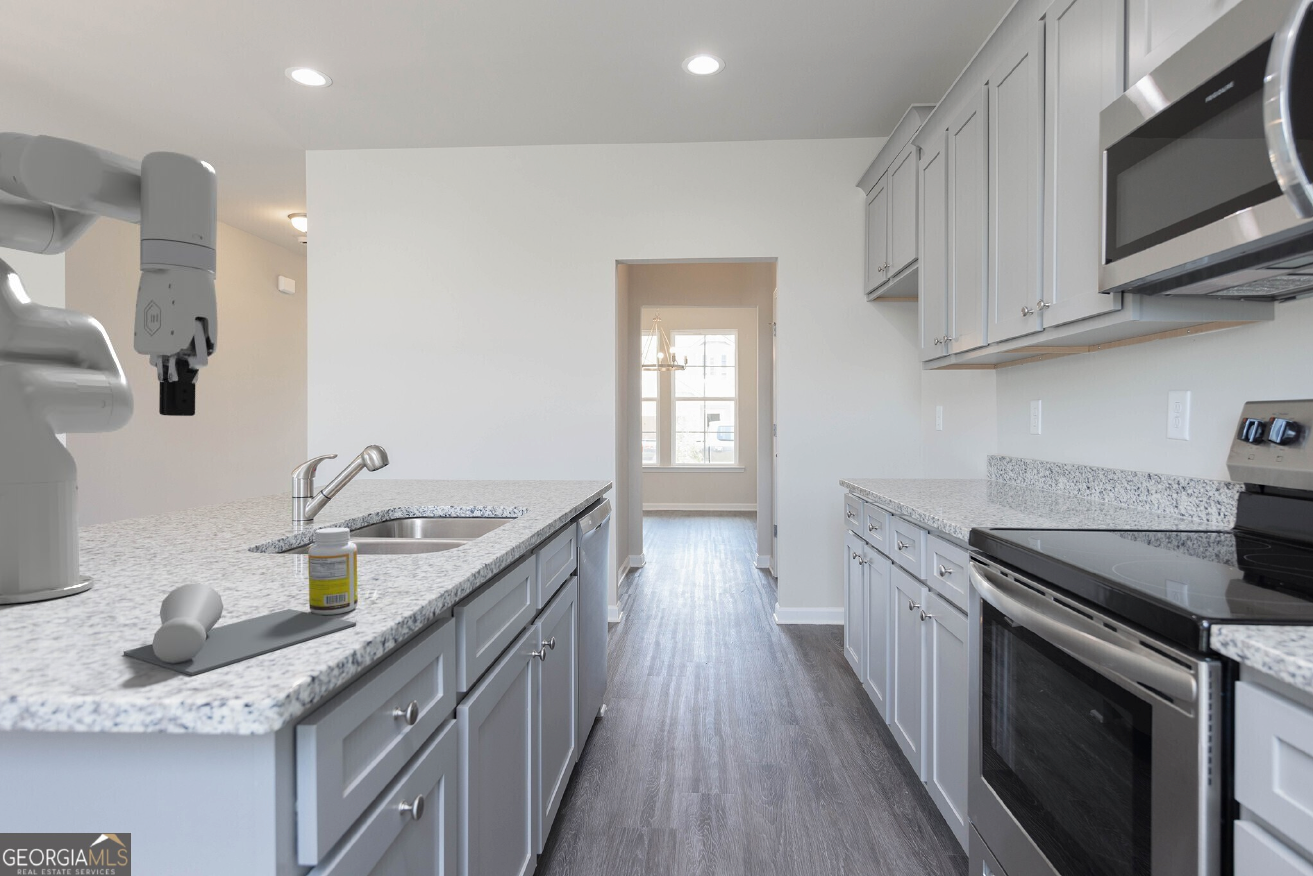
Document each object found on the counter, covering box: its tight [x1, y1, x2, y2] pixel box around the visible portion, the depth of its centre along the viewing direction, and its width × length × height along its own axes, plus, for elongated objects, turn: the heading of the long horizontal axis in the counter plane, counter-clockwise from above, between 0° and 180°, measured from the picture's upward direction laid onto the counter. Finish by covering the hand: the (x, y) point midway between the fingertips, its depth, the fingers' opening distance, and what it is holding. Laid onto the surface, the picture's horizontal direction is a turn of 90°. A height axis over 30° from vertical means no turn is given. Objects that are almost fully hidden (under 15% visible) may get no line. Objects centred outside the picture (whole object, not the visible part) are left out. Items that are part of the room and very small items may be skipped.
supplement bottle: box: [307, 527, 359, 616], centre depth 87 cm, size 6×6×10 cm
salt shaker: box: [151, 582, 224, 664], centre depth 72 cm, size 6×6×13 cm
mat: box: [123, 608, 357, 676], centre depth 76 cm, size 12×18×1 cm
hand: (177, 415), depth 83 cm, fingers closed
